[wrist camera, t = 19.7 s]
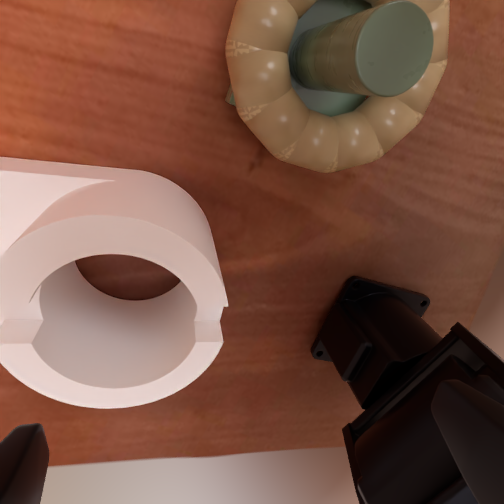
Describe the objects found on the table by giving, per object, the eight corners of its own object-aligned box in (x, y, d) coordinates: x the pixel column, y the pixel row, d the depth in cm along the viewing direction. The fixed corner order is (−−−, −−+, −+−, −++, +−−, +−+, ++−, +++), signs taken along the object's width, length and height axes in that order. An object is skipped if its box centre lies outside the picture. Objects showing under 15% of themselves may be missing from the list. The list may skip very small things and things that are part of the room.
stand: (385, 20, 17) (534, -19, 10) (331, 144, 19) (422, 183, 12) (271, -44, 15) (354, -148, 8) (224, 101, 17) (259, 118, 10)
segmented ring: (461, -17, 16) (506, -31, 14) (371, 185, 19) (396, 198, 17) (266, -126, 13) (283, -165, 11) (200, 132, 16) (203, 140, 14)
